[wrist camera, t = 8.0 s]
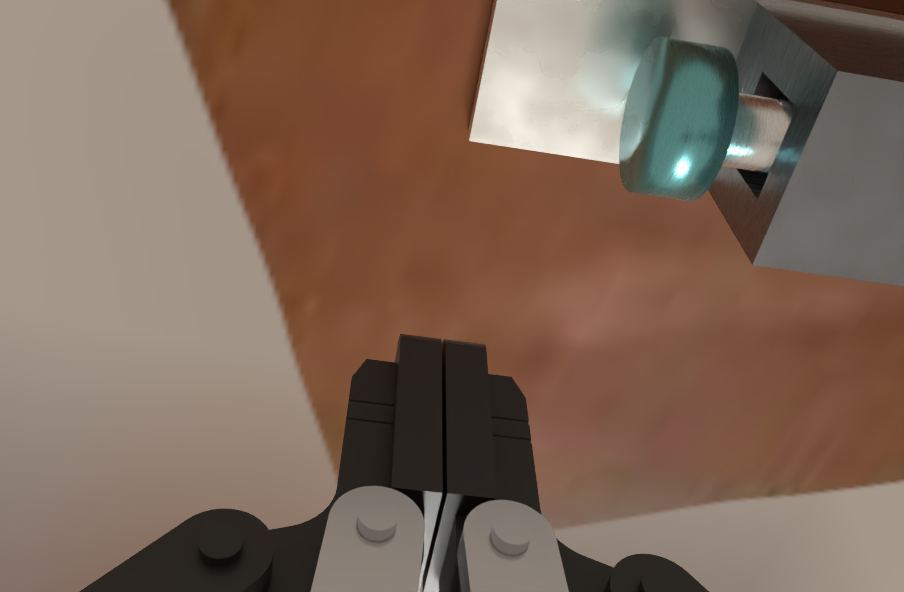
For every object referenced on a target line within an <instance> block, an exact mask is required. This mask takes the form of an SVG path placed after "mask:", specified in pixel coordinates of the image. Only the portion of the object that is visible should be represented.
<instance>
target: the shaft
mask: <svg viewBox="0 0 904 592" xmlns="http://www.w3.org/2000/svg"><path fill="white" fill-rule="evenodd" d="M796 108H797V107H796V106H795V105H794V104H793V103H792V102H791V101H786V100H780V99H774V98H768V97H762V96H756V95H750V94H744V93H739V76H738V69H737V65H736V61H735V58H734V56H733V54H732V53H731V51H730V50H728V49H727V48H725V47H720V46H714V45H708V44H703V43H697V42H691V41H685V40H679V39H674V38H668V37H659V38H657V39H656V40H654V41H653V42H652V43H651V44H650V46H649V47H648V48H647V50H646V51H645V53H644V55H643V57H642V59H641V61H640V63H639V65H638V67H637V70H636V72H635V75H634V77H633V80H632V83H631V86H630V90H629V93H628V97H627V101H626V105H625V109H624V114H623V120H622V126H621V133H620V144H619V167H620V175H621V179H622V182H623V185H624V187H625V188H626V190H627V191H629V192H632V193H639V194H646V195H653V196H659V197H666V198H673V199H679V200H686V201H694V200H696V199H698V198H700V197H701V196H702V195H703V194H704V193H705V192H706V191H707V190H708V189H709V188H710V186H711V185H712V183H713V182H714V180H715V178H716V177H717V175H718V173H719V171H720V169H721V167H722V166H725V167H732V168H738V169H745V170H751V171H758V172H764V173H769V171H770V169H771V167H772V164H773V162H774V160H775V157H776V155H777V152H778V150H779V148H780V145H781V143H782V141H783V138H784V136H785V134H786V131H787V129H788V126H789V124H790V122H791V119H792V117H793V115H794V112H795V110H796Z"/></svg>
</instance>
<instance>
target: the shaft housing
mask: <svg viewBox="0 0 904 592" xmlns="http://www.w3.org/2000/svg"><path fill="white" fill-rule="evenodd" d="M659 37H668V38H674V39H679V40H685V41H691V42H697V43H703V44H708V45H714V46H720V47H725V48H727V49H728V50H730V51H731V53H732V54H733V56H734V58H735V61H736V65H737V69H738V76H739V93H744V94H750V95H756V96H762V97H768V98H774V99H780V100H786V101H791V102H792V103H793V104H794V105H795V106H796V107H797V108H796V110H795V112H794V115H793V117H792V119H791V122H790V124H789V126H788V129H787V131H786V134H785V136H784V138H783V141H782V143H781V145H780V148H779V150H778V152H777V155H776V157H775V160H774V162H773V164H772V167H771V169H770V171H769V173H764V172H758V171H751V170H745V169H738V168H732V167H725V166H722V167H721V169H720V171H719V173H718V175H717V177H716V178H715V180H714V182H713V183H712V185H711V186H710V188H709V189H708V191H709V192H710V194H711V196H712V197H713V199H714V201H715V202H716V204H717V206H718V208H719V209H720V211H721V213H722V214H723V216H724V218H725V219H726V221H727V223H728V224H729V226H730V228H731V229H732V231H733V233H734V235H735V236H736V238H737V240H738V241H739V243H740V245H741V246H742V248H743V250H744V251H745V253H746V255H747V256H748V258H749V260H750V262H751V263H752V265H757V266H764V267H772V268H779V269H786V270H793V271H800V272H807V273H814V274H821V275H828V276H835V277H842V278H849V279H856V280H863V281H870V282H877V283H884V284H891V285H898V286H904V15H900V14H895V13H889V12H884V11H878V10H873V9H867V8H862V7H856V6H851V5H845V4H840V3H834V2H829V1H823V0H494V2H493V7H492V12H491V17H490V22H489V27H488V32H487V37H486V42H485V47H484V52H483V57H482V62H481V68H480V73H479V78H478V83H477V88H476V93H475V98H474V103H473V108H472V113H471V118H470V123H469V129H468V134H469V141H474V142H480V143H487V144H493V145H500V146H507V147H513V148H520V149H526V150H533V151H539V152H546V153H552V154H559V155H565V156H572V157H578V158H585V159H591V160H598V161H604V162H611V163H617V164H619V144H620V133H621V126H622V120H623V114H624V109H625V105H626V101H627V97H628V93H629V90H630V86H631V83H632V80H633V77H634V75H635V72H636V70H637V67H638V65H639V63H640V61H641V59H642V57H643V55H644V53H645V51H646V50H647V48H648V47H649V46H650V44H651V43H652V42H653V41H654V40H656V39H657V38H659Z"/></svg>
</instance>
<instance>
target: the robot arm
mask: <svg viewBox="0 0 904 592" xmlns="http://www.w3.org/2000/svg"><path fill="white" fill-rule="evenodd" d="M528 421H529V419H528V412H527V404H526V398H525V396H524V395H523V393H522V392H521V390H520V389H519V387H518V386H517V384H516V383H515V382H514V380H513V379H512V377H508V376H500V375H492V374H488V366H487V353H486V346H485V345H484V344H476V343H469V342H461V341H453V340H445V339H444V340H443V343H442V341H441V339H436V338H429V337H421V336H413V335H405V334H400V336H399V341H398V346H397V352H396V358H395V363H394V362H386V361H378V360H370V359H366V360H365V362H364V363H363V364H362V365H361V367H360V368H359V369H358V370H357V371H356V373H355V374H354V375H353V376H352V380H351V387H350V395H349V402H348V409H347V417H346V424H345V432H344V439H343V446H342V454H341V462H340V469H339V477H338V484H337V490H336V494H335V496H334V498H333V500H332V502H331V503H330V505H329V506H328V507H327V508H326V509H325V510H324V511H323V512H322V513H320V514H319V515H318V516H316V517H315V518H313V519H311V520H309V521H306V522H304V523H301V524H298V525H294V526H289V527H284V528H278V529H272V530H268V528H267V527H266V525H264V523H262V522H261V520H259V519H258V518H256V517H255V516H253V515H251V514H249V513H247V512H243V511H239V510H235V509H214V510H209V511H205V512H202V513H199V514H197V515H194V516H193V517H191V518H189V519H187V520H186V521H184V522H183V523H181V524H180V525H179V526H177V527H175V528H174V529H172V530H171V531H169V532H168V533H167V534H165V535H163V536H162V537H160V538H159V539H158V540H156V541H154V542H153V543H151V544H150V545H148V546H147V547H146V548H144V549H142V550H141V551H139V552H138V553H137V554H135V555H133V556H132V557H130V558H129V559H127V560H126V561H124V562H123V563H122V564H120V565H119V566H117V567H116V568H114V569H113V570H111V571H110V572H108V573H107V574H105V575H104V576H102V577H101V578H99V579H98V580H96V581H95V582H93V583H92V584H90V585H89V586H87V587H86V588H84V589H83V590H81V591H80V592H419V590H420V586H421V582H422V578H423V592H709V591H707V590H706V589H705V588H704V587H703V586H702V585H701V584H700V583H699V582H698V581H697V580H696V579H694V578H693V577H692V576H691V575H690V574H689V573H688V572H687V571H685V570H684V569H683V568H682V567H680V566H679V565H677V564H676V563H674V562H672V561H670V560H668V559H666V558H663V557H660V556H656V555H651V554H635V555H631V556H628V557H626V558H624V559H622V560H621V561H620V562H618V563H617V564H616V566H615V567H614V568H613V567H611V566H608V565H606V564H603V563H600V562H598V561H595V560H593V559H590V558H587V557H585V556H583V555H581V554H578V553H576V552H574V551H573V550H571V549H569V548H568V547H566V546H565V545H564V544H562V543H561V542H560V541H559V540H558V539H557V538H556V536H555V533H554V531H553V529H552V527H551V525H550V524H549V523H548V521H547V520H546V519H545V518H544V517H543V516H542V515H541V510H540V504H539V496H538V488H537V481H536V473H535V465H534V458H533V450H532V443H531V435H530V427H529V425H528Z"/></svg>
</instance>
